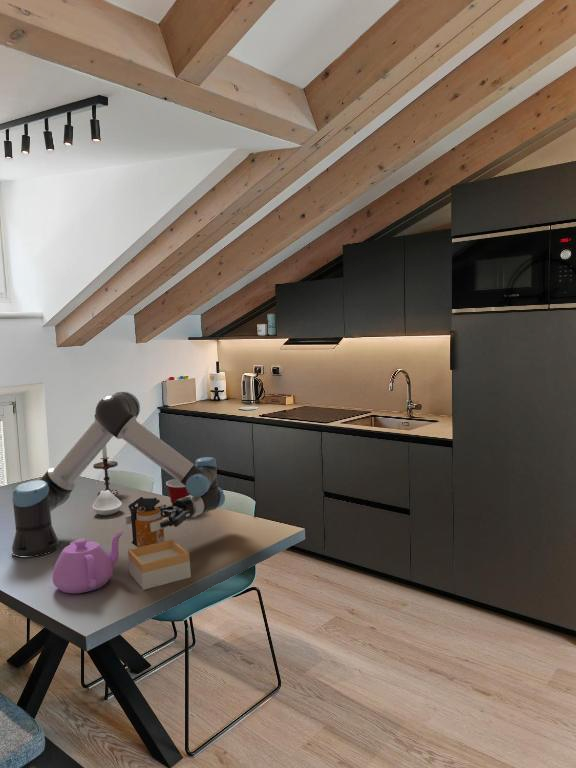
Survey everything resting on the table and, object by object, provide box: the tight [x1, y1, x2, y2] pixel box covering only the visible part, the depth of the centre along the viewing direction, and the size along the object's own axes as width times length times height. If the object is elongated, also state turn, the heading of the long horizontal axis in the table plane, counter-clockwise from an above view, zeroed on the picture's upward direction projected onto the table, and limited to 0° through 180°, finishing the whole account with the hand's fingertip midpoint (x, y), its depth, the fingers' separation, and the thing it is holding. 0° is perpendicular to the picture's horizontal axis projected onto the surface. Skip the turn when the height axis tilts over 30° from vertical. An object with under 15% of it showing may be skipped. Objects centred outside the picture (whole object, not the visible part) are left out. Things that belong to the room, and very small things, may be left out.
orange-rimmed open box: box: [127, 539, 192, 591], centre depth 184 cm, size 15×15×8 cm
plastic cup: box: [165, 478, 190, 506], centre depth 251 cm, size 11×11×12 cm
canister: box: [128, 496, 166, 548], centre depth 200 cm, size 9×11×20 cm
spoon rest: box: [92, 490, 123, 516], centre depth 256 cm, size 24×12×7 cm, turn 21°
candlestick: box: [92, 444, 119, 496], centre depth 280 cm, size 11×11×35 cm
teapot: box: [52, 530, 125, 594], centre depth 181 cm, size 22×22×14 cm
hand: (138, 524), depth 197 cm, fingers open, 13 cm apart
